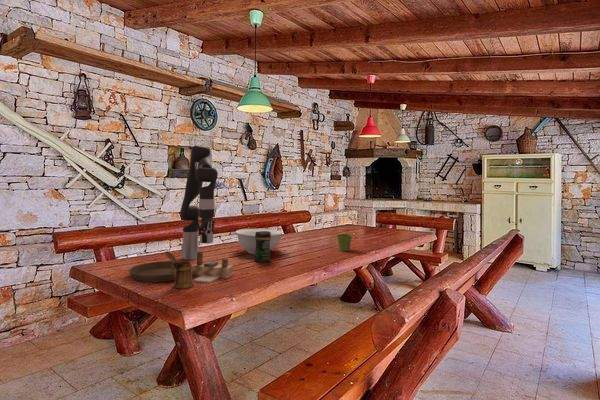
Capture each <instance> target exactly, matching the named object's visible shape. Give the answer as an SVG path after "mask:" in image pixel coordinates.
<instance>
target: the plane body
mask: <svg viewBox="0 0 600 400" xmlns="http://www.w3.org/2000/svg"><path fill="white" fill-rule="evenodd" d="M203 256H204V255H203V250H202V251H201V250H198V252H197V259H196V263H195V264H192V269H191V273H192V276H197V277H200V276H202V275H206V276H217V277H218V279H219V278H220V279H229V278H230V277H232V276H233V275H234V265H232V264H231V265H230V264H229V258H222V259H221V264H219V262H218V261H211V260H209V261H207V262H203Z"/></svg>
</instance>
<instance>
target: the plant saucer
mask: <svg viewBox="0 0 600 400" xmlns="http://www.w3.org/2000/svg"><path fill="white" fill-rule="evenodd" d="M176 262H181V261H178V260H176ZM172 263H173V262H172V261H171V260H165V261H164V260H162V261H161V260H160V261H153V262H146V263H140V264H137V265H134V266H132V267H129V269H128V273H129V274H130V276H131V277H133V278H134V280H136V281H139V282H144V283H146V282H147V283H161V282H163V283H164V282H171V281H175V279H174V277H173V275H172V273H171V265H172ZM192 266H193V264H191V267H192ZM174 272H175V273H176V268H175V270H174Z"/></svg>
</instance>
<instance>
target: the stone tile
mask: <svg viewBox="0 0 600 400" xmlns="http://www.w3.org/2000/svg"><path fill="white" fill-rule="evenodd" d="M218 279H219V278H218V277H217V276H206V275H202V276H197V277H196V278H194V279H193V282H198V283H208V284H211V283H213V282H214V281H216V280H218Z"/></svg>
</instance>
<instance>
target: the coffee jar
mask: <svg viewBox="0 0 600 400" xmlns="http://www.w3.org/2000/svg"><path fill="white" fill-rule="evenodd" d="M255 239H256V249H255V254H254V258H253V259H254V261H255V262H257V263H259V262H260V263H265V262H269V261H271V250H270V239H271V233H270V232H268V231H260V232H256V234H255Z"/></svg>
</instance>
